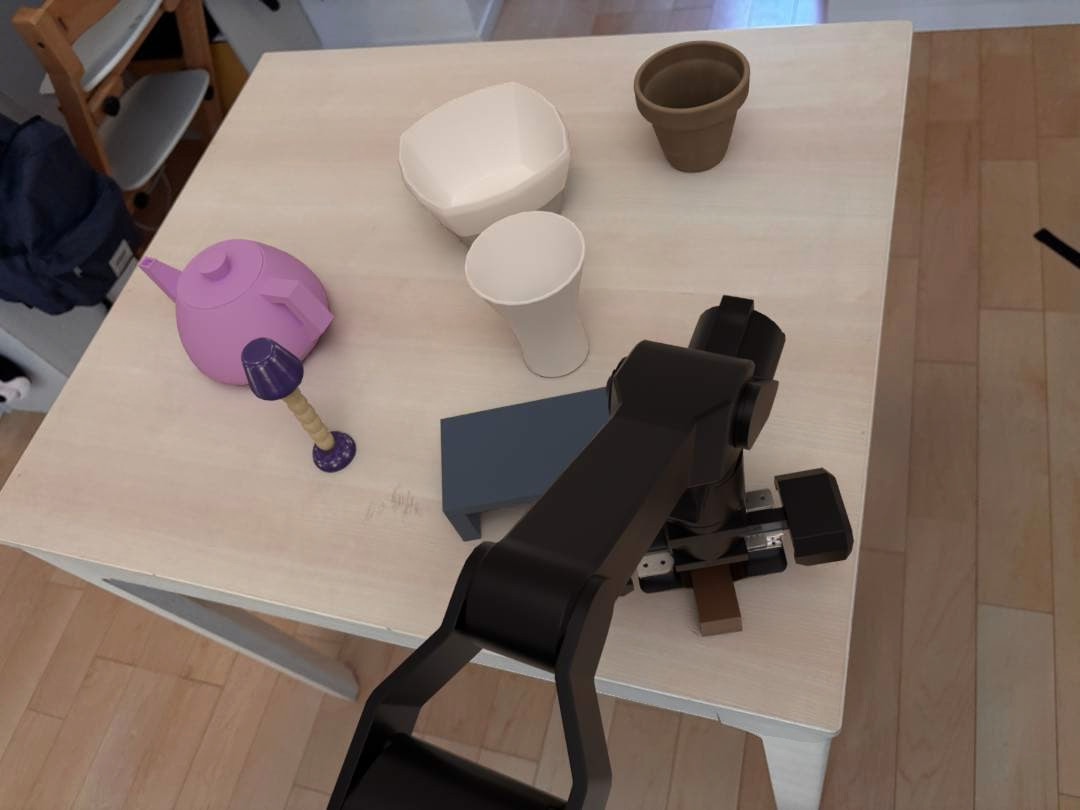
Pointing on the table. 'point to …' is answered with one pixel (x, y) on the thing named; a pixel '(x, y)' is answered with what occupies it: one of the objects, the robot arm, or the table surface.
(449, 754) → the robot arm
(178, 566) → the table surface
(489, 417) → the shelf
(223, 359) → the teapot
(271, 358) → the toy lamp
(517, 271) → the cup
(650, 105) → the flower pot
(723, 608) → the block
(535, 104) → the bowl
